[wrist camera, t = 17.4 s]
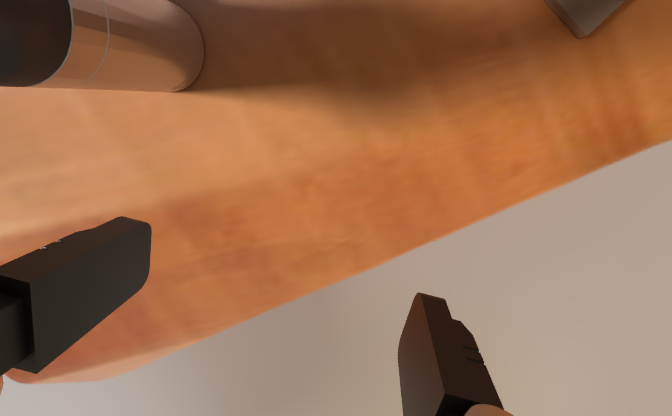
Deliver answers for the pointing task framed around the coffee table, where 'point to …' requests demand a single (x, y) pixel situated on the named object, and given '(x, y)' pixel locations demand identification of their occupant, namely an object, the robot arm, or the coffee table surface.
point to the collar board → (583, 13)
